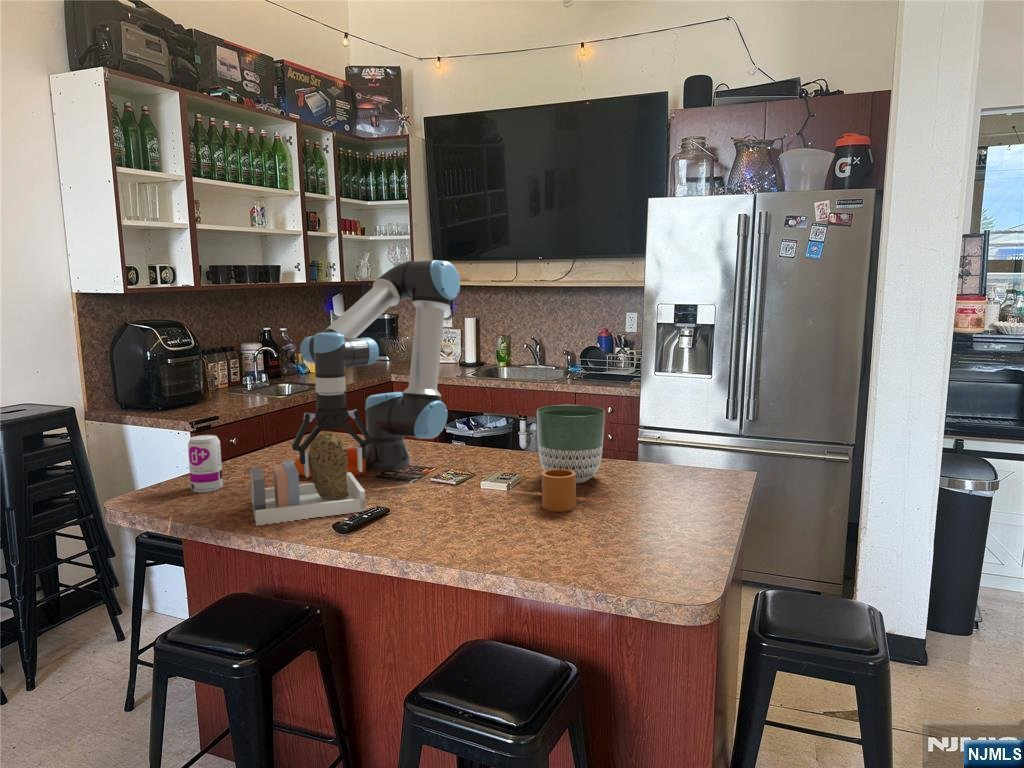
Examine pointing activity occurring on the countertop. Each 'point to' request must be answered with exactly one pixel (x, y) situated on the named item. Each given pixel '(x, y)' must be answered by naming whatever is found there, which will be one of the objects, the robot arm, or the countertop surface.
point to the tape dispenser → (351, 465)
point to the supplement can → (205, 463)
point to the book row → (286, 484)
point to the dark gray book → (258, 488)
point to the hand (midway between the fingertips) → (333, 473)
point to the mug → (558, 490)
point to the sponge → (329, 466)
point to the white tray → (312, 504)
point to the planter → (571, 438)
